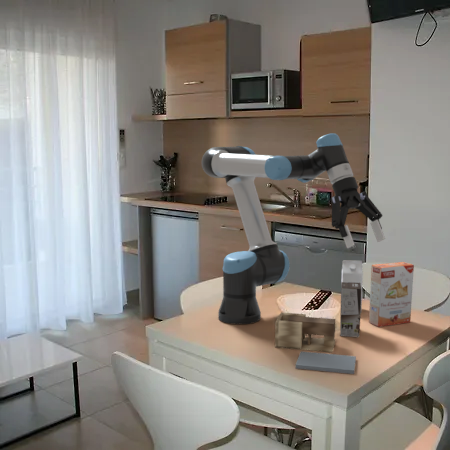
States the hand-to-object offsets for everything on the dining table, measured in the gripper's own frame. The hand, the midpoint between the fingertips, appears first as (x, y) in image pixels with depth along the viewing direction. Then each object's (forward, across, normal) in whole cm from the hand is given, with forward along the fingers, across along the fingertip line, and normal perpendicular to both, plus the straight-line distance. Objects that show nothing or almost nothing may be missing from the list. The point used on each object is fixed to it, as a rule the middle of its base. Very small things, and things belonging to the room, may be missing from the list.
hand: (366, 243), depth 181 cm
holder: (+23, -17, +23) cm, 37 cm away
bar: (+20, -16, +20) cm, 32 cm away
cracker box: (+25, +22, +23) cm, 40 cm away
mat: (+30, -24, +9) cm, 39 cm away
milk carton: (+16, +22, +39) cm, 48 cm away
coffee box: (+24, +2, +23) cm, 33 cm away
